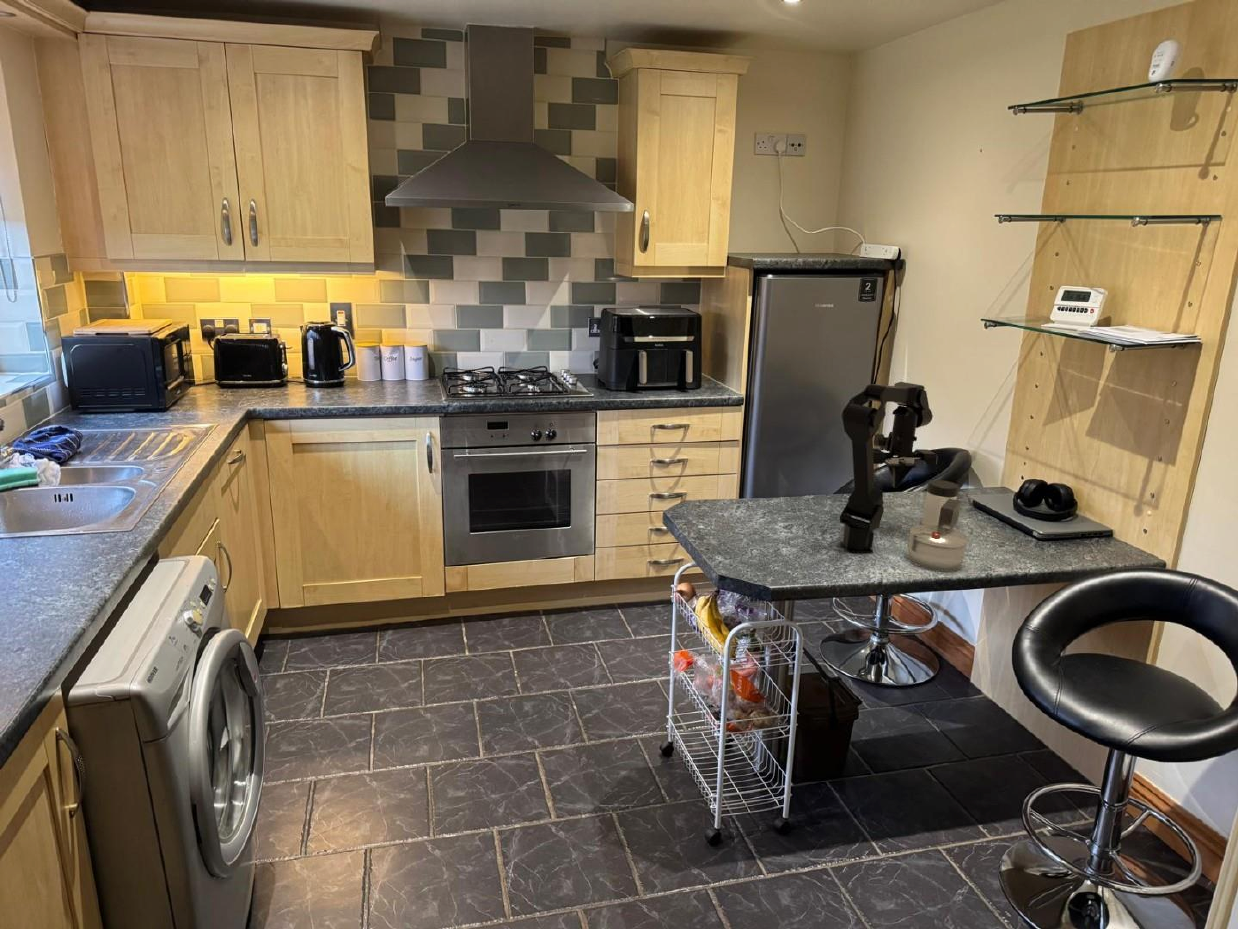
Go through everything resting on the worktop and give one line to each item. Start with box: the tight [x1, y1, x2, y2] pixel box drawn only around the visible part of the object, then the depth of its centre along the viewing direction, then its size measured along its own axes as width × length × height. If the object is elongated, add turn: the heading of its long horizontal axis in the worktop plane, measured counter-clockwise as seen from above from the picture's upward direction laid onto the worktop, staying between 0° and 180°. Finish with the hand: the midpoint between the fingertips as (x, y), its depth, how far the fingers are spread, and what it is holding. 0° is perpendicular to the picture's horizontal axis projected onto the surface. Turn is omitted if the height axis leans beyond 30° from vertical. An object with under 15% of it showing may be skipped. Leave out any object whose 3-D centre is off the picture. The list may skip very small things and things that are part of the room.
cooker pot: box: [906, 535, 967, 573], centre depth 211 cm, size 20×13×6 cm, turn 148°
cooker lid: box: [909, 499, 969, 548], centre depth 210 cm, size 22×13×6 cm, turn 148°
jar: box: [921, 479, 960, 526], centre depth 235 cm, size 9×8×12 cm
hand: (895, 487), depth 224 cm, fingers closed
